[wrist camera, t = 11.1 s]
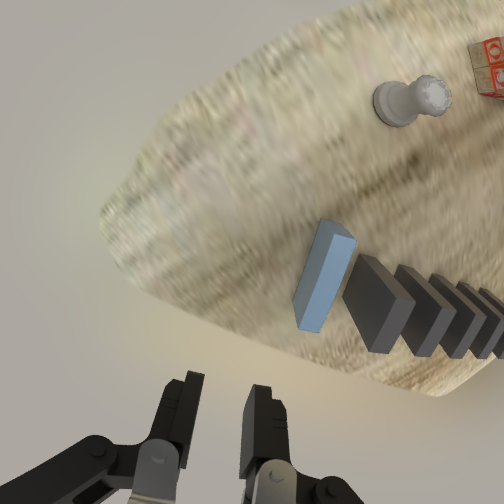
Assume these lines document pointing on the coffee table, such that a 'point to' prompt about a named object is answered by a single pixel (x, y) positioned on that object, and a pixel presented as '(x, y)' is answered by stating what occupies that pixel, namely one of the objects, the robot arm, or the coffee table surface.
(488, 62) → the stack of blocks
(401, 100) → the rook chess piece
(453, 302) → the domino
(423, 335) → the domino
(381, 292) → the domino
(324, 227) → the tile
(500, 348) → the domino
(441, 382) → the coffee table surface
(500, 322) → the domino
